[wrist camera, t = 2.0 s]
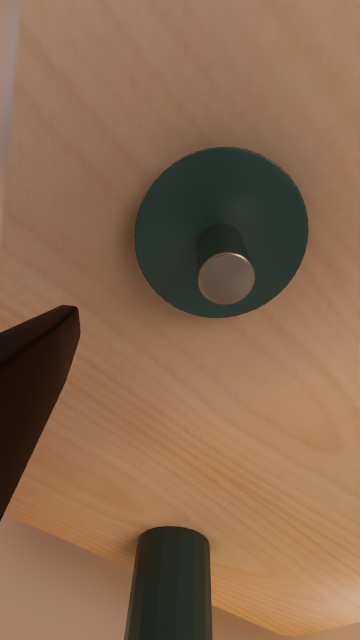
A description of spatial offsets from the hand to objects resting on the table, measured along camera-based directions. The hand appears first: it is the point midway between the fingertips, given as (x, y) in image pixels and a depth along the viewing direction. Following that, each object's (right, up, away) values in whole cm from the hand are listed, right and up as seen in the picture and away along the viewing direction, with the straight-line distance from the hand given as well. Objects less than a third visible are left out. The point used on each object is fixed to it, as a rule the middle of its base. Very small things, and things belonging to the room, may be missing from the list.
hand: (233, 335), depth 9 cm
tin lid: (0, +4, +7) cm, 8 cm away
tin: (-2, -24, +26) cm, 35 cm away
